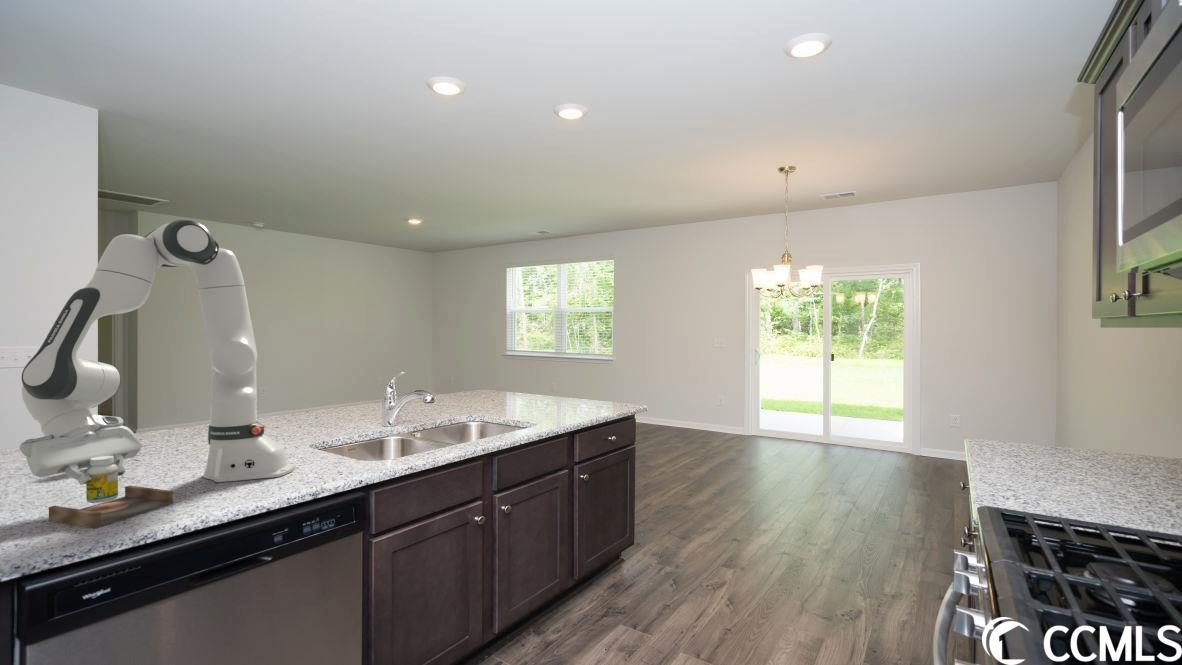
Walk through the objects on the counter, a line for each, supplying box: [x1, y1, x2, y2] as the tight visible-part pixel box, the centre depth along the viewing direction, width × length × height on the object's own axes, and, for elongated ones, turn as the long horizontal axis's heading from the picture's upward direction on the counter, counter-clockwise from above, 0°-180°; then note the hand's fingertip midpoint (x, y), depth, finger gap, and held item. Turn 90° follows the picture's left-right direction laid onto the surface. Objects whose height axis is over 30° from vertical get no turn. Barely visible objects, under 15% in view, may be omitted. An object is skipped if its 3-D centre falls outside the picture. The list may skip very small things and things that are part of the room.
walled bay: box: [48, 485, 174, 529], centre depth 122 cm, size 14×16×3 cm
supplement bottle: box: [85, 456, 119, 504], centre depth 123 cm, size 5×5×10 cm
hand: (104, 478), depth 122 cm, fingers closed on supplement bottle, 5 cm apart
